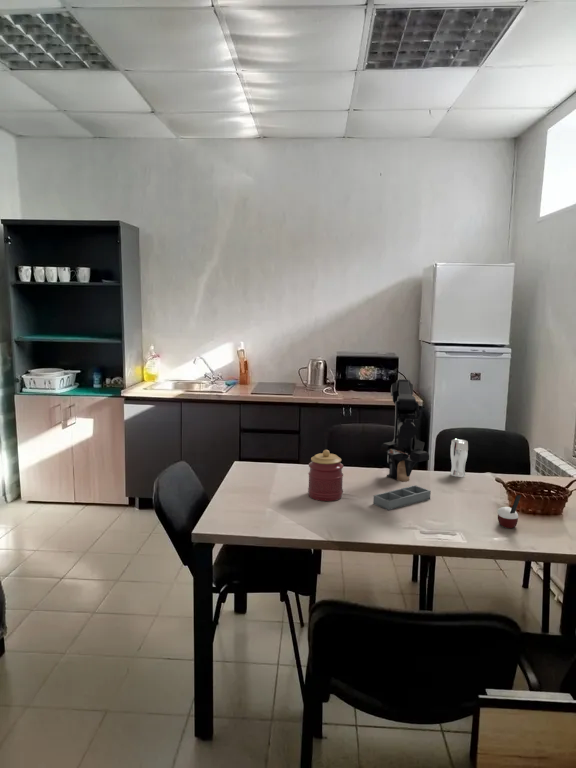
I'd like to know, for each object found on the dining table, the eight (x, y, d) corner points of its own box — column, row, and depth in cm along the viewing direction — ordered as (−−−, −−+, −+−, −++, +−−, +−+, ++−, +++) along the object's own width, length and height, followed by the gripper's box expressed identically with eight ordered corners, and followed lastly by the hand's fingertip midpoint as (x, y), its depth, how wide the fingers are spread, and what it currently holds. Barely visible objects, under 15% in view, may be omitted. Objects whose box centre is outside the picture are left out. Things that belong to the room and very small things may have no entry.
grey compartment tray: (373, 503, 196) (373, 495, 196) (414, 493, 208) (415, 485, 208) (388, 510, 190) (388, 501, 189) (430, 499, 202) (430, 490, 202)
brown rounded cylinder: (394, 479, 199) (395, 460, 198) (402, 477, 201) (403, 458, 200) (403, 482, 195) (404, 463, 194) (411, 480, 197) (412, 461, 196)
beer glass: (445, 473, 234) (447, 439, 232) (458, 472, 236) (460, 438, 234) (457, 478, 227) (459, 443, 225) (469, 476, 230) (472, 442, 228)
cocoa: (495, 521, 182) (495, 486, 181) (515, 522, 181) (515, 487, 180) (500, 531, 173) (501, 494, 172) (521, 532, 172) (522, 495, 171)
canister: (302, 497, 201) (302, 451, 199) (316, 488, 213) (317, 444, 210) (334, 504, 195) (335, 456, 193) (347, 493, 207) (349, 448, 204)
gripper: (440, 435, 192) (438, 477, 195) (401, 425, 208) (400, 465, 210) (419, 438, 186) (417, 482, 188) (380, 428, 201) (379, 469, 204)
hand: (403, 474), depth 198 cm, fingers closed on brown rounded cylinder, 4 cm apart
